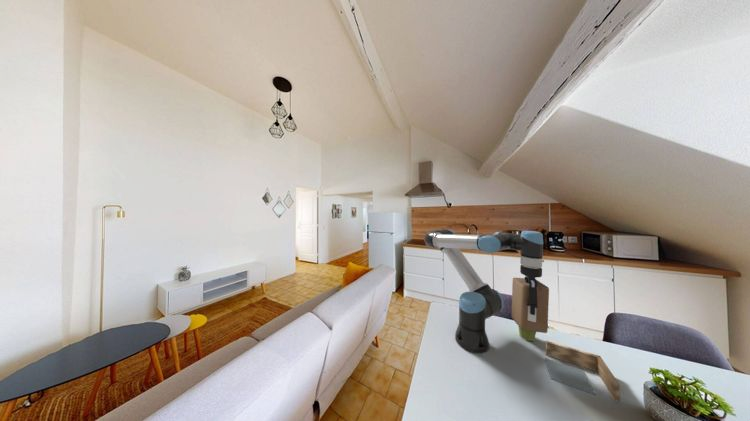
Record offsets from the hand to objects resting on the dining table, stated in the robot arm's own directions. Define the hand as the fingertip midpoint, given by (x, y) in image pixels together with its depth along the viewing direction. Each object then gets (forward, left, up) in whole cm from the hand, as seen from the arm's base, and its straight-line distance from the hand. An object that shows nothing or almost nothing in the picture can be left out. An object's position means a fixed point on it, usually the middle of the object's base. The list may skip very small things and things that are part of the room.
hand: (529, 313), depth 87 cm
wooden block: (0, 0, -6) cm, 6 cm away
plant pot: (+1, +16, -20) cm, 26 cm away
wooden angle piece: (+16, -1, -20) cm, 25 cm away
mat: (+12, -3, -20) cm, 24 cm away
